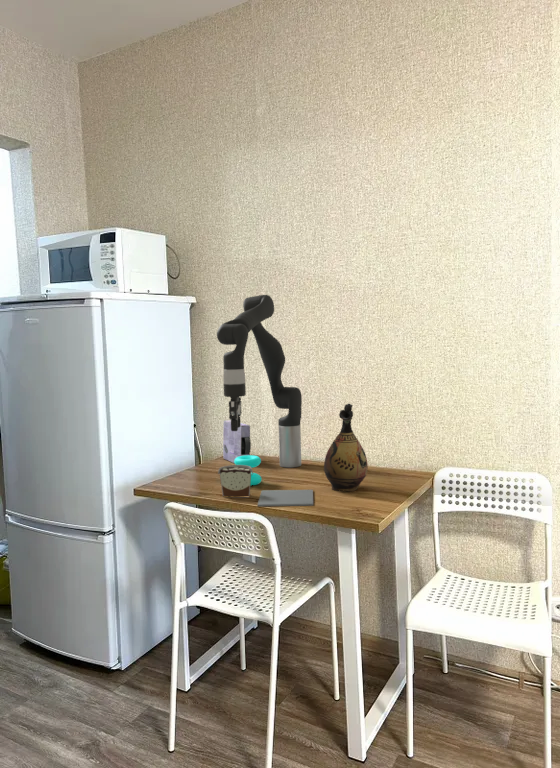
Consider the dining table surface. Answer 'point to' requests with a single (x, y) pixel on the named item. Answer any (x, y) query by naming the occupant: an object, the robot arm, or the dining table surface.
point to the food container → (235, 480)
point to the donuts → (252, 462)
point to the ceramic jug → (345, 457)
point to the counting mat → (286, 498)
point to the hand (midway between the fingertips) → (235, 429)
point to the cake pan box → (236, 441)
